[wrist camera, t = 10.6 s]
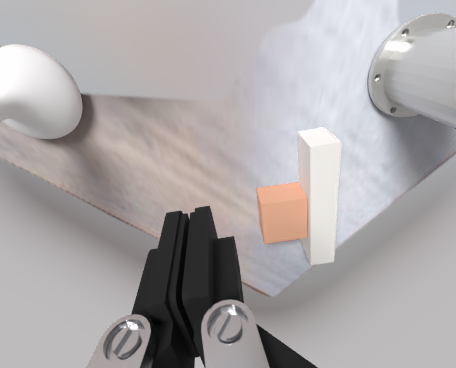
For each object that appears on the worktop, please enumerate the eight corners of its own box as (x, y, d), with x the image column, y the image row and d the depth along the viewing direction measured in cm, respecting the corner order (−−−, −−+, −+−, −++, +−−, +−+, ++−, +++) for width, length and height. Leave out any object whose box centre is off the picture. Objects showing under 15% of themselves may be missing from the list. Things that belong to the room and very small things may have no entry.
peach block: (298, 181, 44) (307, 197, 40) (298, 219, 48) (306, 238, 44) (256, 187, 44) (260, 204, 40) (259, 224, 48) (264, 244, 44)
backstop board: (324, 127, 39) (341, 141, 34) (321, 237, 50) (334, 261, 45) (297, 131, 39) (310, 147, 34) (300, 241, 50) (310, 265, 45)
